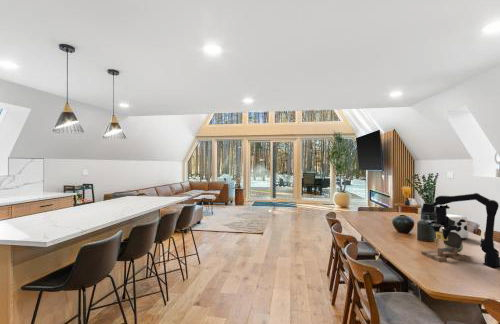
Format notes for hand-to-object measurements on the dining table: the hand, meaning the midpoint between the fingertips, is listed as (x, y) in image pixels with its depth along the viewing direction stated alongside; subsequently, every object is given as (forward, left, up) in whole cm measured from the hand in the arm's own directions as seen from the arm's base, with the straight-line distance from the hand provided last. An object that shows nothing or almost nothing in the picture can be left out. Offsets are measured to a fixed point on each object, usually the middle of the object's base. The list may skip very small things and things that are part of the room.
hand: (441, 238), depth 174 cm
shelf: (-1, 0, -12) cm, 12 cm away
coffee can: (+7, -15, -8) cm, 19 cm away
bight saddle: (0, 0, -1) cm, 1 cm away
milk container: (+40, -50, -12) cm, 65 cm away
